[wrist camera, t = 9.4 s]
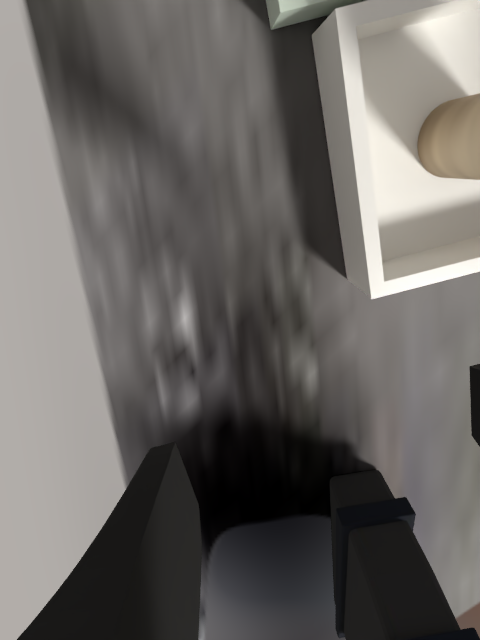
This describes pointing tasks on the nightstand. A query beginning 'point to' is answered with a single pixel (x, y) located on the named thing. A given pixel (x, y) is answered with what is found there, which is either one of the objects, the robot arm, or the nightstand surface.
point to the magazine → (383, 567)
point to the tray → (398, 138)
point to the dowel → (452, 139)
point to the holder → (301, 10)
